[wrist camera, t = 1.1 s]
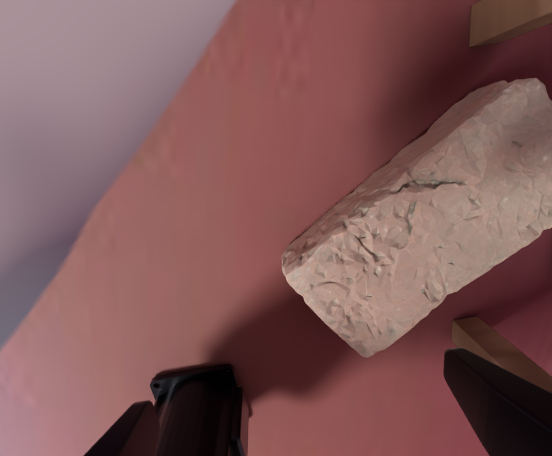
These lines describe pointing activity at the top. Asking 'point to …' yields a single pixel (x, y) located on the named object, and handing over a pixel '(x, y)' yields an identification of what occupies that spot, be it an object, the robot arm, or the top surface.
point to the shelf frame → (483, 30)
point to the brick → (431, 217)
